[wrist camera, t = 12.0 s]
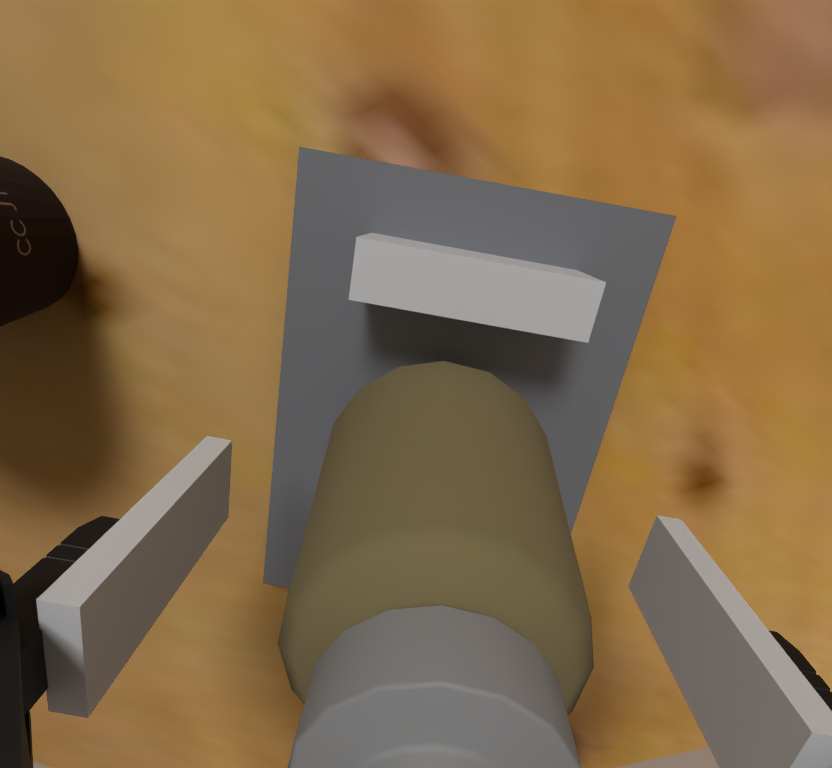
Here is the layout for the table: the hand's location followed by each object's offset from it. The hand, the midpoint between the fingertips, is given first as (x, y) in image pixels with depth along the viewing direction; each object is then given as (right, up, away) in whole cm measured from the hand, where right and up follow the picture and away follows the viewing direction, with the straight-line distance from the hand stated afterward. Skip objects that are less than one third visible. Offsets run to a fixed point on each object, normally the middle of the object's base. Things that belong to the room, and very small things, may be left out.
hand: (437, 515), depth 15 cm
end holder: (0, +3, +7) cm, 8 cm away
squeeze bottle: (0, +2, +6) cm, 7 cm away
